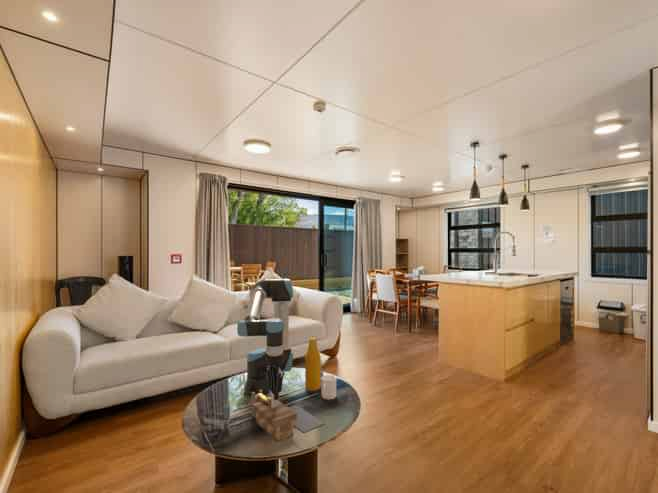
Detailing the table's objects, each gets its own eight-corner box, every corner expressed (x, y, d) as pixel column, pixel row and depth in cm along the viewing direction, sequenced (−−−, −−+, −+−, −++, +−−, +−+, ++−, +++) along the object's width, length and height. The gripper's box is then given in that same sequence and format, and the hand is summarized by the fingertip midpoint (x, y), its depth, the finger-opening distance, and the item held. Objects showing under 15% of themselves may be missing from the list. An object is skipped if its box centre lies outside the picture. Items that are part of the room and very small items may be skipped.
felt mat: (276, 412, 159) (276, 412, 159) (296, 405, 167) (296, 404, 167) (303, 433, 141) (303, 432, 141) (324, 423, 149) (324, 423, 149)
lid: (252, 412, 150) (252, 403, 150) (273, 405, 157) (273, 397, 157) (274, 430, 134) (274, 421, 134) (296, 422, 141) (296, 412, 141)
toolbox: (248, 416, 156) (248, 393, 156) (263, 410, 161) (263, 388, 161) (277, 441, 135) (277, 414, 135) (293, 434, 140) (293, 408, 140)
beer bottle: (302, 388, 188) (301, 339, 189) (312, 383, 196) (312, 335, 196) (314, 392, 183) (313, 341, 183) (324, 387, 190) (323, 338, 191)
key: (257, 397, 156) (257, 391, 156) (261, 395, 157) (261, 390, 157) (268, 405, 147) (268, 399, 147) (272, 403, 149) (272, 398, 149)
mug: (329, 404, 168) (329, 384, 168) (315, 401, 172) (315, 381, 172) (338, 394, 179) (338, 376, 179) (325, 392, 183) (325, 374, 183)
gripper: (260, 352, 148) (260, 403, 148) (274, 359, 138) (274, 414, 138) (274, 349, 153) (274, 398, 152) (289, 355, 143) (289, 408, 142)
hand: (274, 406), depth 145 cm, fingers closed
